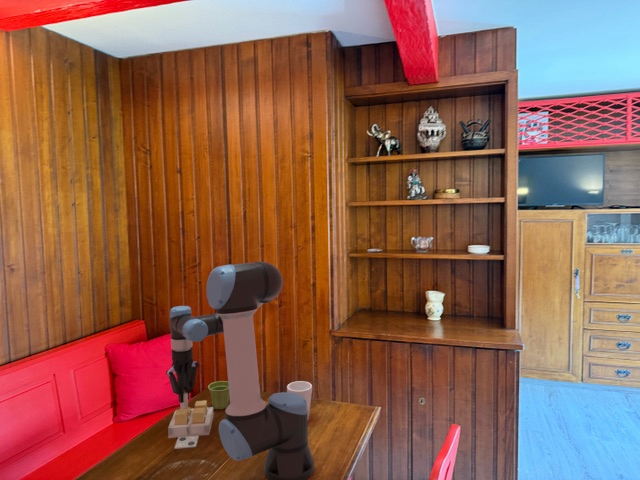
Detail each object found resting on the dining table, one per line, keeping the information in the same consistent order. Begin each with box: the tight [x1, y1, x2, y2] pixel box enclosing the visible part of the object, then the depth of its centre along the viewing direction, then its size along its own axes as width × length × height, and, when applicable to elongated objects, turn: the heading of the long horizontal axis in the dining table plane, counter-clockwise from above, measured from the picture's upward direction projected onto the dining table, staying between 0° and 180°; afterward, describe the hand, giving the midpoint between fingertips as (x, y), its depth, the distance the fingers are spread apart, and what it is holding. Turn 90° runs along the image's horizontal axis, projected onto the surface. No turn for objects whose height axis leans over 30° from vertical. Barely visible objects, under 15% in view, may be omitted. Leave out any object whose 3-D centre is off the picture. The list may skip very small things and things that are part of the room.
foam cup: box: [286, 380, 313, 420], centre depth 164 cm, size 10×9×13 cm
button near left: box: [174, 408, 188, 425], centre depth 157 cm, size 4×4×4 cm
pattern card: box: [174, 435, 200, 450], centre depth 150 cm, size 7×7×1 cm
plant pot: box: [207, 380, 230, 410], centre depth 176 cm, size 9×9×9 cm
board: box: [167, 406, 214, 439], centre depth 160 cm, size 14×14×4 cm
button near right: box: [192, 407, 205, 424], centre depth 157 cm, size 4×4×4 cm
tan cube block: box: [179, 407, 192, 416], centre depth 163 cm, size 4×4×4 cm
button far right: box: [194, 400, 208, 415], centre depth 163 cm, size 4×4×4 cm
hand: (184, 409), depth 163 cm, fingers closed
